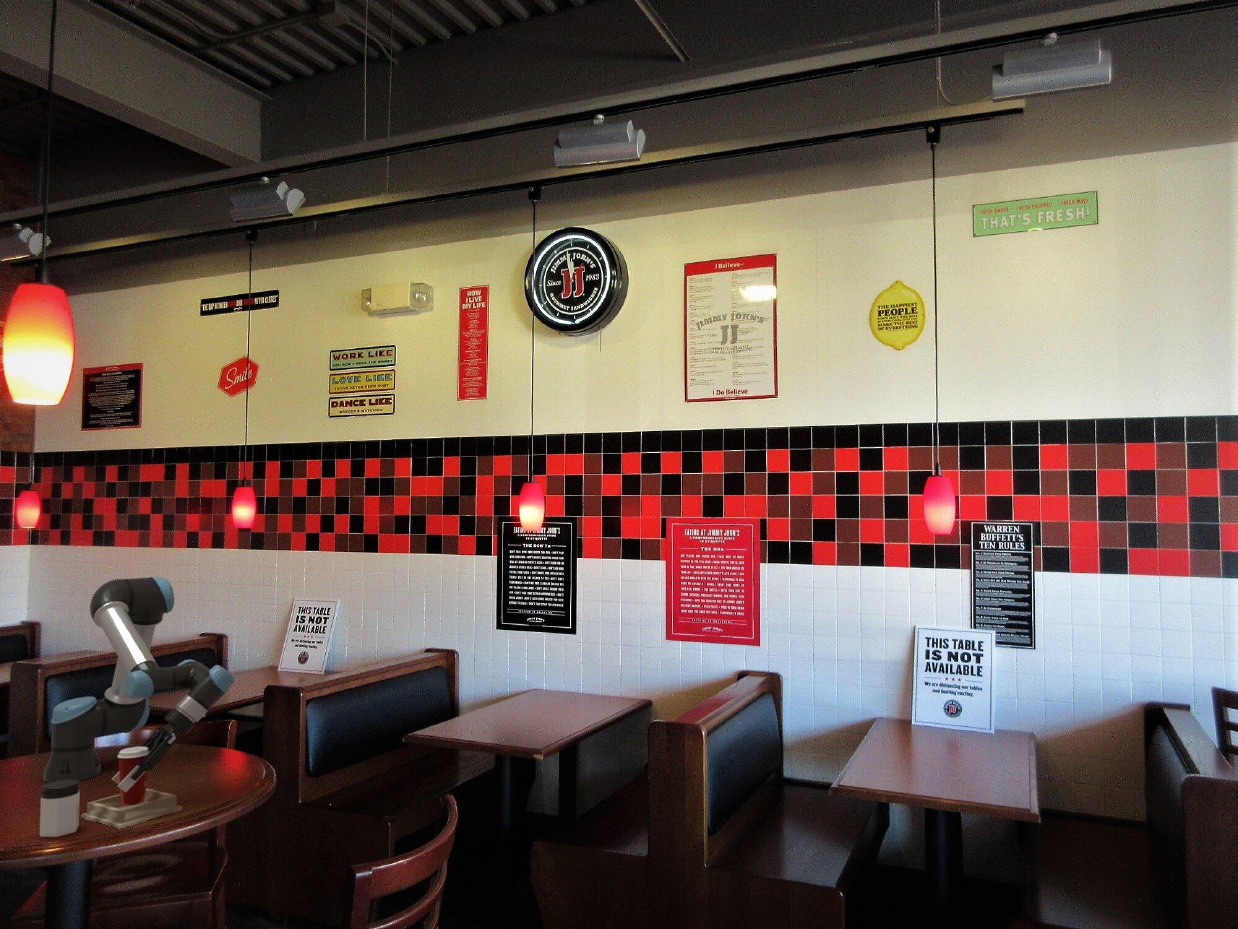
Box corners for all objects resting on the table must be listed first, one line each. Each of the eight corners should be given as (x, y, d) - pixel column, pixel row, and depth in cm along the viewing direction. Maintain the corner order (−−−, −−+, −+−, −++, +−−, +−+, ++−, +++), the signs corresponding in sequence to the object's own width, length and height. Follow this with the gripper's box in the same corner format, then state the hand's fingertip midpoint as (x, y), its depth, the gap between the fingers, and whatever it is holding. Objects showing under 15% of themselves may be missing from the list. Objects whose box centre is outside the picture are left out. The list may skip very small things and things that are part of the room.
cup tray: (81, 818, 232) (81, 802, 232) (143, 800, 247) (143, 786, 247) (119, 829, 223) (120, 813, 223) (181, 810, 238) (182, 795, 238)
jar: (43, 829, 224) (45, 781, 225) (80, 824, 227) (81, 777, 228) (36, 840, 216) (38, 790, 217) (75, 835, 219) (76, 786, 220)
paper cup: (155, 799, 237) (156, 747, 238) (131, 808, 230) (132, 754, 231) (133, 797, 240) (134, 745, 241) (109, 805, 233) (110, 752, 234)
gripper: (205, 729, 238) (137, 802, 227) (186, 717, 254) (122, 785, 243) (184, 713, 235) (114, 786, 224) (166, 701, 251) (100, 769, 240)
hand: (118, 785), depth 233 cm, fingers closed on paper cup, 8 cm apart
